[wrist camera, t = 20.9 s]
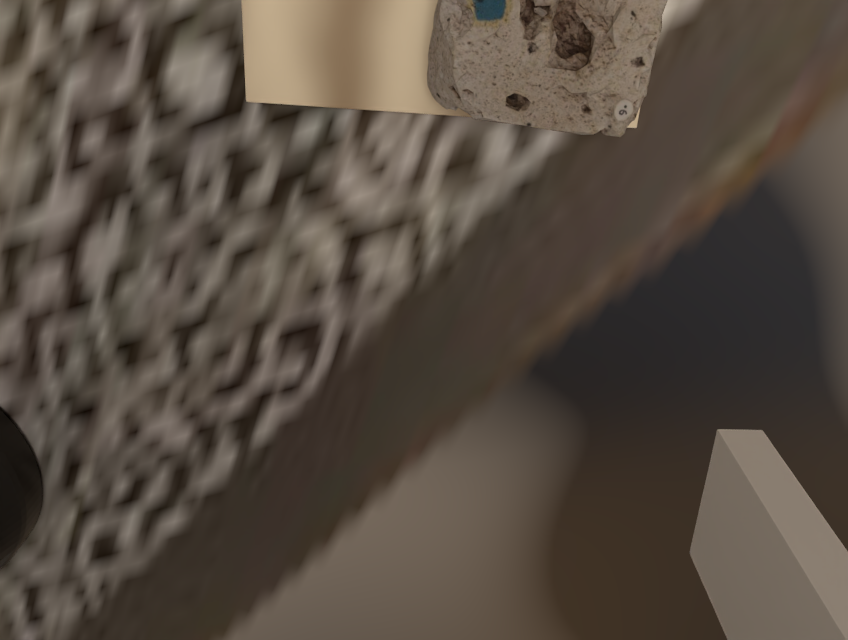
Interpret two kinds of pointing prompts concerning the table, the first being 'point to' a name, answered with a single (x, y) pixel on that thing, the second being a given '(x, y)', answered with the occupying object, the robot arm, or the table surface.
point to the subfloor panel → (341, 54)
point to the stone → (545, 61)
